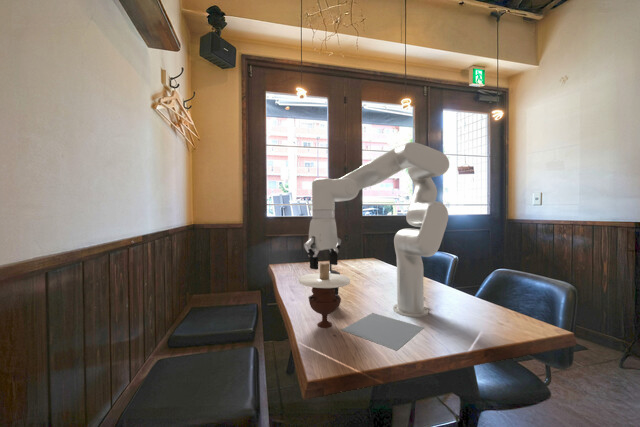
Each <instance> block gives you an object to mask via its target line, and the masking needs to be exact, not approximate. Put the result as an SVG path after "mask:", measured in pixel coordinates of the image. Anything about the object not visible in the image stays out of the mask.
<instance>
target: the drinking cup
mask: <svg viewBox="0 0 640 427" xmlns="http://www.w3.org/2000/svg"><path fill="white" fill-rule="evenodd" d="M329 273H332V274H339V275H341V272H339V271H338V270H334V269H333V268H332V264H330V263H329ZM339 288H340V287H337V288H334V289H335V294H336V295H339Z"/></svg>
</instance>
